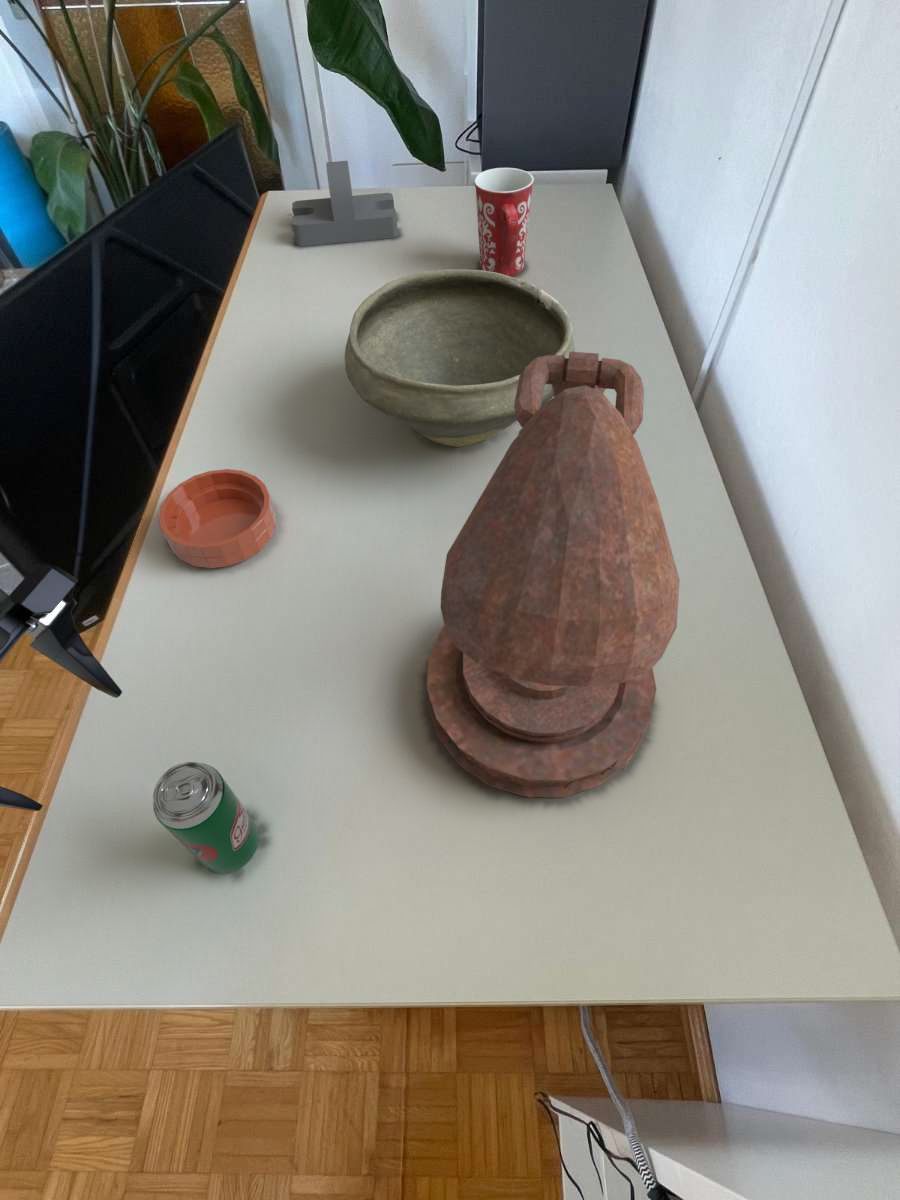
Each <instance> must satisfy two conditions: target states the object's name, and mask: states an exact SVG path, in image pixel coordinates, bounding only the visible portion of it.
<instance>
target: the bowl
mask: <svg viewBox="0 0 900 1200" xmlns="http://www.w3.org/2000/svg"><path fill="white" fill-rule="evenodd" d="M349 326H350V327H349V333H348V337H347V339H346V344H345V351H344V368H345V374H346V377H347V379H348V382H349V383H350V385H351V386H352V388H353V389H354V390H355V392H356V393H357V395H358V396H359V397H360V398H361V399H362V400H363V401H364V402H366V404H368V405H370V406H371V407H373V408H374V409H376V410H378V411H380V412H382V413H383V414H386V415H387V416H390V417H391V418H394V419H396V420H398V421H400V422H402V423H404V424H406V425H408V426H409V427H411V428H412V429H414V430H415V431H416V432H418V433H420V434H421V435H422V436H423V437H424V438H426V439H428V440H430V441H433V442H435V443H437V444H440V445H444V446H450V447H456V448H461V447H467V446H472V445H475V444H477V443H480V442H482V441H485V440H487V439H489V438H492V437H493V436H495V435H497V434H499V433H501V432H502V431H504V430H506V429H507V428H509V427H511V425H513V424H515V422H518V421H517V420H516V416H515V409H514V403H515V398H516V392H517V386H518V380H519V376H520V375H521V373H522V372H523V370H524V369H525V367H526V366H527V365H528V364H530V363H531V362H532V361H533V360H534V359H535V358H537V357H542V356H547V355H565V358H569V352H576V351H575V343H574V336H573V333H574V332H573V331H574V330H573V322H572V319H571V317H570V315H569V313H568V312H567V311H566V309H565V308H564V307H563V305H562V304H561V303H560V302H559V301H558V300H557V299H556V298H554V297H553V296H551V295H550V294H549V293H548V292H546V291H544V289H542V288H541V287H540V286H539V287H537V285H536V284H534V283H528V282H527V281H526V280H523V279H520V278H517V277H514V276H511V277H510V276H507V275H503V274H500V273H496V272H490V271H483V270H481V269H468V268H467V269H466V268H465V269H464V268H463V269H462V268H460V269H457V268H456V269H454V268H449V269H438V270H436V269H435V270H424V271H423V270H422V271H417V272H415V273H411V274H407V275H405V276H401V277H397V278H396V279H392V280H391V281H389V282H387V283H386V284H384V285H382V287H380V288H378V289H377V290H375V291H374V292H372V293H370V295H368V297H366V298H365V299H364V300H363V301H361V303H360V304H359V306H358V307H357V308H356V310H355V311H354V314H353V316H352V320H351V323H350V325H349ZM553 397H554V392H553V388H552V384H545V386H544V390H543V396H542V402H541V406H542V405H544V404H545V403H546V402H548V401H549V400H551V399H552V398H553Z"/></svg>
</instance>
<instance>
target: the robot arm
mask: <svg viewBox="0 0 900 1200" xmlns="http://www.w3.org/2000/svg"><path fill="white" fill-rule="evenodd" d="M78 581H79V579H78V578H76V577H75V576H73V575H72V574H70V573H69V572H67V571H65V570H64V569H62V568H61V567H59V566H58V565H53V564H50V563H36V564H35V566H34V567H33V568H32V569H31V570H30V571H29V573H28V574H27V575H26V576H25V577H24V578H23V579H22V580H21V581H20V583H19V584H18V585H17V586H15V588H14V589H13V590H12V591H11V592H10V594H8V593H7V592H6V591H4V590H3V589H2V588H0V663H1V662H2V661H3V659H4V658H5V657H6V656H7V655H8V654H9V652H10V651H11V650H12V649H13V648H14V647H15V645H16V644H17V643H18V642H19V640H20V639H21V638H22V637H23V635H24V634H26V635H28V636H30V637H32V638H33V640H32V641H31V643H30V644H29V647H31V649H32V648H33V649H34V650H35V651H37V652H38V653H39V654H41V655H43V656H44V657H46V658H48V659H49V660H51V661H52V662H54V663H55V664H57V665H58V666H60V667H61V668H63V669H64V670H66V671H68V672H70V673H71V674H72V675H74V676H75V677H77V678H79V679H80V680H82V681H83V682H85V683H86V684H88V685H89V686H91V687H92V688H94V689H96V690H98V691H100V692H102V693H104V694H105V695H108V696H110V697H112V698H115V699H116V698H119V697H121V695H122V694H123V690H122V689H121V687H120V686H119V685H118V684H117V682H115V681H114V679H113V678H112V676H111V675H110V674H109V673H108V671H107V670H106V669H105V668H104V667H103V666H102V664H101V663H100V662H99V660H98V659H97V658H96V656H95V655H94V654H93V652H92V651H91V650H90V649H89V647H88V646H87V644H86V643H85V641H84V639H83V638H82V636H81V635H80V633H79V631H78V628H77V626H76V624H75V620H74V617H73V613H72V612H73V609H74V608H75V607H76V606H77V605H78V604H77V601H76V600H75V598H74V597H70V599H69V600H67V601H65V600H64V599H65V598H66V597H67V595H68V594H69V593H70V592H71V590H72V589H73V588H74V587H75V585H76V584H77V583H78ZM0 807H3V808H4V807H5V808H11V809H18V810H25V811H32V812H40V811H41V810H42V808H43V807H44V806H43V804H42V803H40V802H38V801H37V800H34V799H32V798H30V797H29V796H28V795H24V794H23V793H20V792H17V791H16V790H15V791H14V790H12V789H9V788H7V787H5V786H1V785H0Z"/></svg>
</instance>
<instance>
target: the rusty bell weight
mask: <svg viewBox="0 0 900 1200" xmlns="http://www.w3.org/2000/svg"><path fill="white" fill-rule="evenodd" d="M599 354H600V353H597V352H596V353H595V352H583V351H575V352H569V358H565V355H547V356H542V357H537V358H535V359H534V360H533V361H532V362H531V363H530V364H528V365H527V366H526V367H525V369H524V370H523V372H522V373H521V375H520V376H519V380H518V386H517V392H516V398H515V403H514V409H515V416H516V420H517V421H516V422H517V423H518V424H519V425H520V427H521V429H520V430H519V431H518V433H517V434H518V435H517V436H516V437H515V438H514V439H513V441H512V442H511V443H510V445H509V447H508V449H507V450H506V452H505V454H504V455H503V457H502V459H501V461H500V462H499V464H498V465H497V467H496V469H495V471H494V472H493V475H492V476H491V477H490V480H489V481H488V483H487V484H486V486H485V488H484V489H483V491H482V493H481V494H480V497H479V498H478V499H477V501H476V503H475V505H474V507H473V509H472V511H471V512H470V514H469V516H468V517H467V519H466V520H465V522H464V523H463V525H462V526H461V527H462V528H461V529H460V531H459V533H458V534H457V536H456V537H455V539H454V541H453V543H452V545H451V546H450V548H449V549H448V551H447V553H446V556H445V557H446V558H445V564H444V569H443V570H444V571H443V577H442V584H441V589H440V590H441V591H440V612H441V616H442V620H443V626H442V627H441V628H440V629H439V631H438V634H437V635H436V638H435V641H434V643H433V645H432V647H431V650H430V652H429V655H428V657H427V667H426V669H427V670H426V693H427V696H428V706H427V707H428V711H429V714H430V717H431V720H432V723H433V726H434V730H435V733H436V735H437V739H438V740H439V741H440V743H441V744H442V745H443V747H444V748H445V750H447V752H448V753H449V754H450V755H451V757H452V758H453V759H454V761H455V762H456V763H457V765H458V766H459V767H461V768H462V769H464V770H465V771H467V772H468V773H470V774H471V775H473V776H474V777H475V778H477V779H479V781H481V782H482V783H484V784H485V785H487V786H488V787H492V788H493V789H494V788H495V789H498V790H500V791H504V792H508V793H510V794H514V795H517V796H520V797H524V798H565V797H568V796H572V795H575V794H578V793H581V792H584V791H588V790H591V789H594V788H597V787H600V786H601V785H602V784H603V783H605V782H606V781H607V780H608V779H610V778H611V777H612V776H614V775H615V774H617V773H618V772H619V771H620V770H622V769H623V768H625V767H626V766H627V764H628V763H629V762H630V759H632V757H633V755H634V753H635V752H636V750H637V749H638V747H639V745H640V744H641V743H642V741H643V739H644V736H645V731H646V729H647V727H648V725H650V722H651V720H652V715H653V714H652V713H653V709H654V702H655V699H656V692H657V685H656V680H655V673H654V669H653V668H654V667H655V666H656V665H657V664H658V662H659V661H660V660H661V659H662V658H663V656H664V654H665V651H666V650H667V648H668V646H669V644H670V641H671V639H672V638H673V636H674V634H675V632H676V630H677V627H678V611H679V597H680V594H679V593H680V576H679V573H678V569H677V565H676V562H675V558H674V555H673V551H672V548H671V544H670V540H669V536H668V533H667V530H666V526H665V525H666V524H665V522H664V518H663V514H662V511H661V507H660V503H659V500H658V497H657V494H656V492H655V491H656V490H655V489H654V486H653V482H652V480H651V478H650V475H649V472H648V469H647V466H646V463H645V461H644V458H643V455H642V452H641V449H640V447H639V444H638V441H637V440H636V438H635V436H634V435H635V434H636V432H637V430H639V427H640V426H641V424H642V422H643V420H644V402H645V401H644V400H645V387H644V383H643V379H642V377H641V376H640V374H639V373H638V371H637V370H636V369H635V367H634V366H633V365H632V364H629V363H627V362H625V361H623V360H621V359H615V358H607V357H601V360H600V359H599V358H600V355H599ZM545 384H552V388H553V392H554V397H552V398H551V399H550V400H549V401H548V402H546V403H545V404H544V405H542V406H541V402H542V396H543V390H544V386H545ZM606 389H608V390H614V391H615V393H616V394H615V396H616V397H615V406H614V404H613V403H612V402H611V400H609V399H608V397H607V396H606V395H605V394H604V393H605V391H606Z"/></svg>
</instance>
